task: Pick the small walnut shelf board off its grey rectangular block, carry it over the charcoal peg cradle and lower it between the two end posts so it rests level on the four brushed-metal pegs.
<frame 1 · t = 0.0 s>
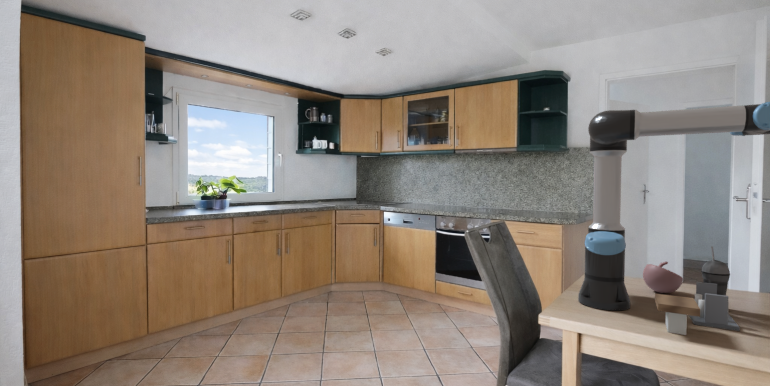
beverage cup: (714, 308, 129), on the table
grey rectangular block: (675, 329, 110), on the table
mortar and pestle: (661, 293, 147), on the table
board: (676, 307, 110), point 6 cm above the table, touching grey rectangular block
cradle: (710, 318, 119), on the table
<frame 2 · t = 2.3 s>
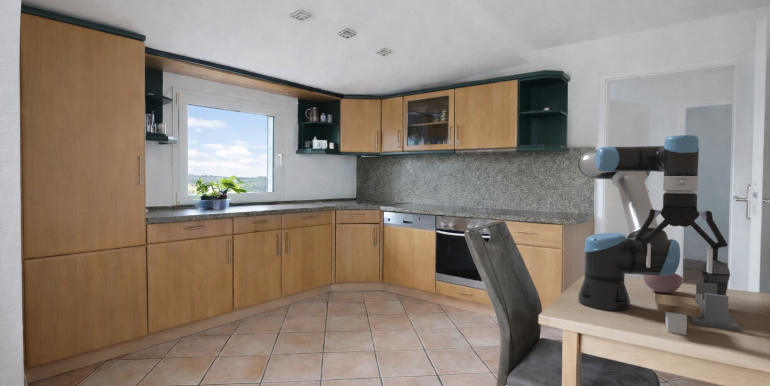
hand: (677, 269, 110), 17 cm above the table, fingers open, 13 cm apart
nothing on the table moved.
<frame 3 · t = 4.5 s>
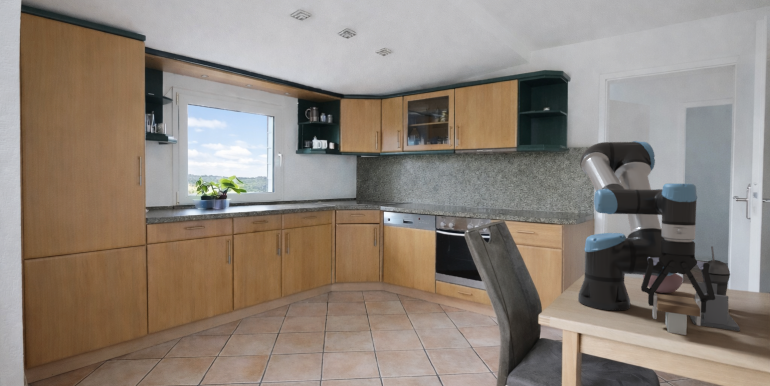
hand: (675, 320, 110), 2 cm above the table, fingers closed on board, 9 cm apart
board: (676, 307, 110), point 6 cm above the table, touching gripper, grey rectangular block
everything else where it was.
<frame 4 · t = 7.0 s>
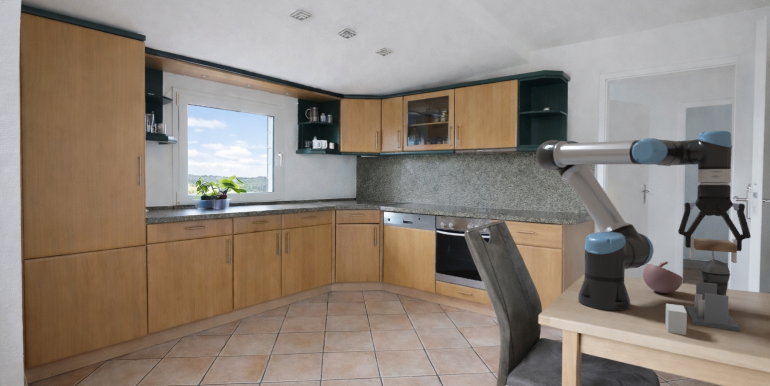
hand: (712, 260, 118), 18 cm above the table, fingers closed on board, 9 cm apart
board: (712, 248, 118), point 21 cm above the table, touching gripper
everything else where it was.
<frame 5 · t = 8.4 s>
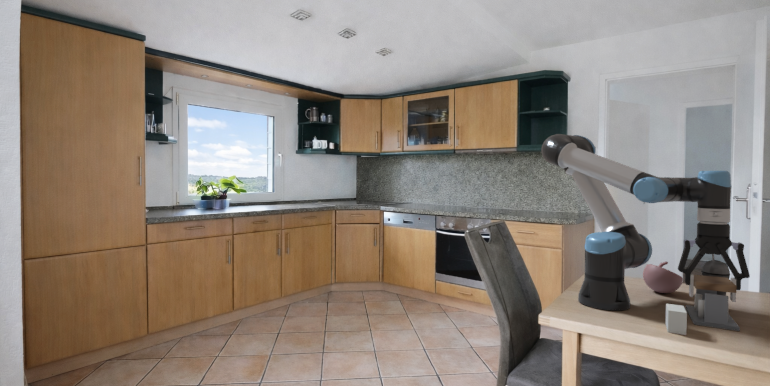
hand: (711, 298, 119), 6 cm above the table, fingers closed on board, 9 cm apart
board: (711, 286, 119), point 10 cm above the table, touching gripper
everything else where it was.
when the fingers open (4 cm above the table, at t = 9.7 s): board drops 1 cm, resting on cradle.
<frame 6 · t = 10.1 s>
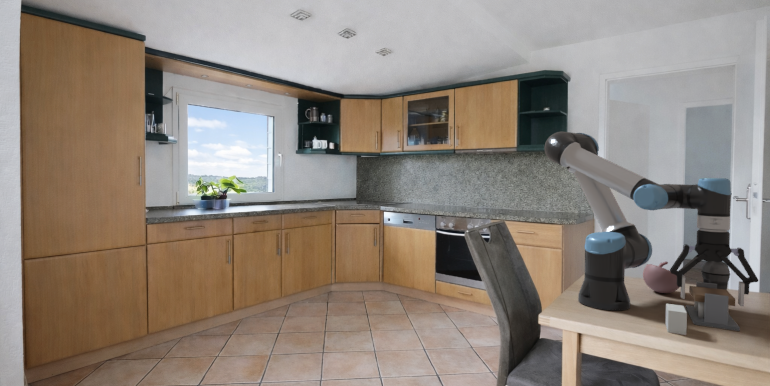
hand: (710, 301, 119), 5 cm above the table, fingers open, 13 cm apart
board: (710, 298, 119), point 6 cm above the table, touching cradle
everything else where it was.
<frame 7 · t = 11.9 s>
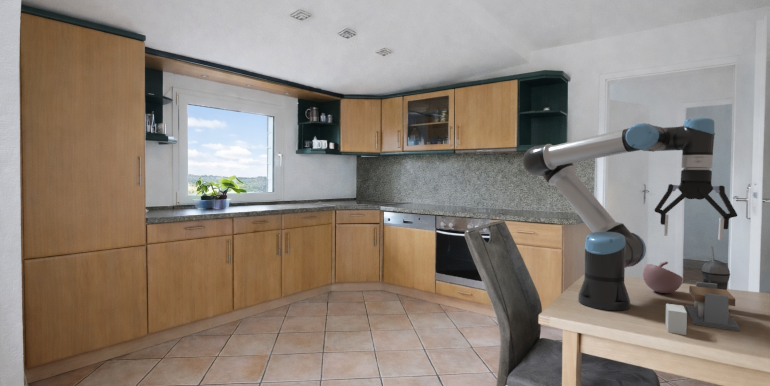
hand: (692, 237, 125), 23 cm above the table, fingers open, 13 cm apart
nothing on the table moved.
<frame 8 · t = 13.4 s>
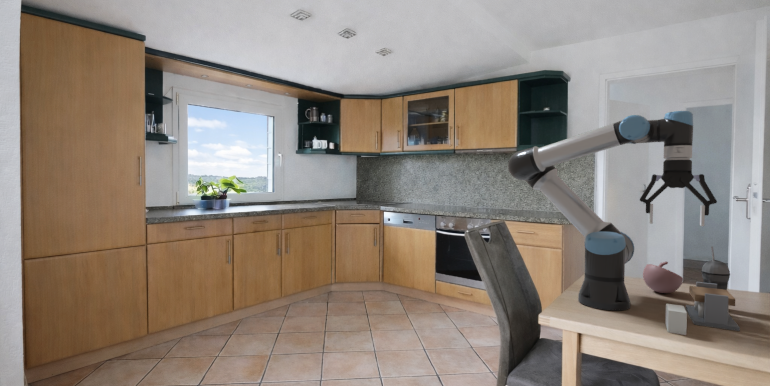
hand: (675, 224, 131), 27 cm above the table, fingers open, 13 cm apart
nothing on the table moved.
at the end: board 0.1 cm off-centre on the cradle, point 6.0 cm above the cradle's base; board tilted 0°; the gripper is holding nothing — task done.
